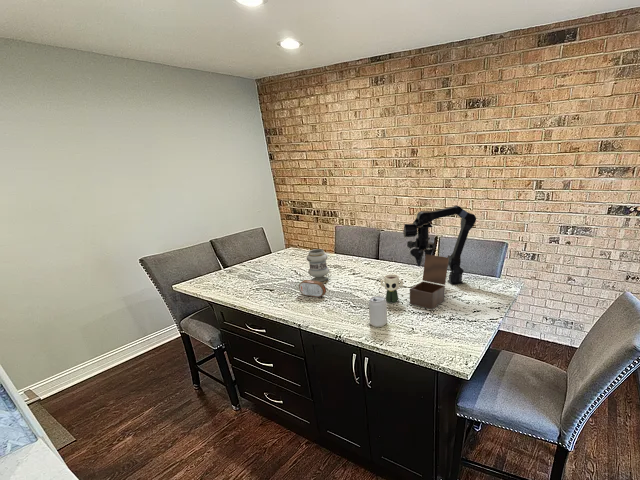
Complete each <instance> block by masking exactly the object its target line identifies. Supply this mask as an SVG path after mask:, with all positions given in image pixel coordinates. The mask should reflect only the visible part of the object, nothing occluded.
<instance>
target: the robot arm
mask: <svg viewBox="0 0 640 480" xmlns="http://www.w3.org/2000/svg"><path fill="white" fill-rule="evenodd" d="M453 215H457V216H458V217H459V218H460V230H459V233H458V236H457V238H456V241H455V245H454V247H453V250H452V253H451V254H448V255H447V256H446V257H447V258H449V261H448V268H447V269H449V274H448V280H447V282H448V283H450V284H451V285H453V286H454V285H463V284H464V281H463V274H464V272H465V271H464V269H463V268H462V267H461V262H462V261H461V257H462V253H463V250H464V247H465V245H466V241H467V239H468V235H469V233H470V231H471V230H472V229H473V227H474V225H475V224H476V221H477V217H476V215H475V214H474V213H471V212H469V211H466V210H465V209H464V208H462V207H461V206H459V205H456V204H455V205H453V206H449V207H445V208H441V209H436V210H421V211H420V210H419V211H418V213H416V218H415V219H414V221H413V222H412V223H404V225H403V229H402V232H403V233H402V234H403V237H404V238H413V237H414V238H415V237H416V236H417V237H416V238H415V240H413V241H412V240H409V241H407V243H406V247H407V248H408V249H410V251H409V255H410V256H412V257H414V259H415V261H416V264H417V267H419V268H420V267H421V266H422V263H423V260H424V257H425V256H426V254H428V255H433V252H434V251H435V249H436V243H435V242H429V241H430V240H431V237H430V235H429V234H430V233H429V232H430V231H429V229H430V228H433V227H434V226H433V225H432V224H431V222H433V221H435V220H437V219H441V218H446V217H450V216H453Z"/></svg>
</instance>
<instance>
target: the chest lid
mask: <svg viewBox="0 0 640 480" xmlns="http://www.w3.org/2000/svg"><path fill="white" fill-rule="evenodd" d="M447 257H448V256H440V255H433V254H432V255H428V254H426V256H425V255H424V265H423V273H422V282H428V283H433V284H438V285H443V286H446V282H447V274H448V269H449V268H448V261H449V258H447Z"/></svg>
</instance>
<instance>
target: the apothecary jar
mask: <svg viewBox="0 0 640 480" xmlns="http://www.w3.org/2000/svg"><path fill="white" fill-rule="evenodd" d="M327 259H328V255H327V253H325V251H324V249H321V248H315V249H311V250H309V251H308V254H307V255H306V261H307V262H308V265H309V269H308V271H307V273H308V275H309V276H311V277H312V278H311V280H312V281H319V282H321V283H323V284H324V283H326V282H328V281H329V278H328V277H326V276H327V275H329V273H330V268H329V267H328V266H327Z"/></svg>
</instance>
